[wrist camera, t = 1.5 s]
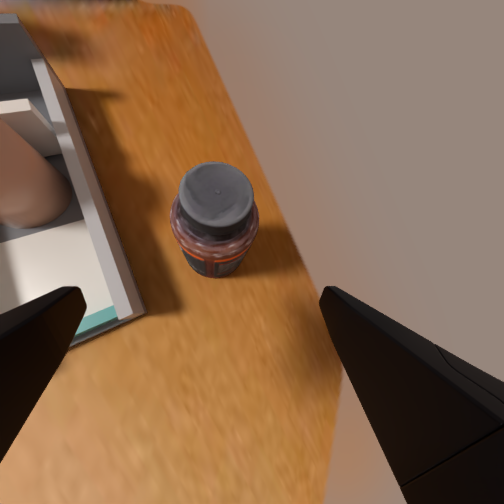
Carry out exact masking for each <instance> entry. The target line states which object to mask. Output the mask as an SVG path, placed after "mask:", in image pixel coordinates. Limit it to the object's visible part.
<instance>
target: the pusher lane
mask: <svg viewBox="0 0 504 504" xmlns="http://www.w3.org/2000/svg"><path fill="white" fill-rule="evenodd" d="M27 98H28V100H29V101H30V102H31V103H32V104H33V105H34V106H35V108H36V109H37V110H38V111H39V112H40V113H41V114H42V116H43V117H44V118H45V119H46V120H47V121H48V122H49V124H50V125H51V126H52V127H53V128H54V130H55V133H56V136H57V139H58V142H59V145H60V148H61V151H62V154H57V155H52V156H47V157H44V158H45V159H46V160H47V161H48V162H50V163H51V164H52V165H53V166H54V167H55V168H56V169H57V170H58V171H60V172H61V173H62V174H63V175H64V176H65V177H66V178H67V179H68V181H69V182H70V185H71V188H72V198H71V202H70V204H69V206H68V207H67V209H66V210H65V211H64V212H63V213H62V214H61V215H60V216H59V217H58V218H56V219H55V220H53V221H51V222H49V223H47V224H45V225H42V226H39V227H35V228H28V229H15V228H9V227H6V226H3V225H0V314H2V313H5V312H7V311H9V310H11V309H13V308H16V307H18V306H20V305H22V304H25V303H27V302H29V301H31V300H33V299H36V298H38V297H40V296H42V295H44V294H47V293H49V292H51V291H53V290H55V289H58V288H60V287H63V286H78V287H79V288H81V291H82V293H83V296H84V298H85V301H86V304H87V309H86V313H85V315H84V317H83V319H82V321H81V323H80V325H79V327H78V329H77V332H76V334H75V336H74V338H73V340H72V342H71V344H70V346H69V348H70V347H72V346H74V345H76V344H79V343H81V342H83V341H85V340H88V339H90V338H92V337H94V336H97V335H99V334H101V333H103V332H105V331H108V330H110V329H112V328H114V327H117V326H119V325H121V324H123V323H125V322H128V321H130V320H132V319H134V318H137V317H139V316H141V315H143V314H145V313H147V310H146V308H145V305H144V302H143V299H142V297H141V294H140V291H139V288H138V286H137V283H136V280H135V278H134V275H133V272H132V269H131V267H130V264H129V261H128V258H127V256H126V253H125V250H124V247H123V245H122V242H121V239H120V237H119V234H118V231H117V228H116V226H115V223H114V220H113V217H112V215H111V212H110V209H109V207H108V204H107V201H106V198H105V196H104V193H103V190H102V187H101V185H100V182H99V179H98V177H97V174H96V171H95V168H94V166H93V163H92V160H91V157H90V155H89V152H88V149H87V146H86V144H85V141H84V138H83V136H82V133H81V130H80V127H79V125H78V122H77V119H76V116H75V114H74V111H73V108H72V106H71V103H70V100H69V97H68V95H67V92H66V89H65V87H64V85H63V84H62V82H61V81H60V79H59V78H58V76H57V75H56V73H55V72H54V70H53V69H52V67H51V66H50V64H49V63H48V61H47V60H46V58H45V57H44V55H43V54H42V52H41V51H40V49H39V48H38V46H37V45H36V43H35V42H34V40H33V39H32V37H31V36H30V34H29V32H28V31H27V29H26V28H25V26H24V25H23V23H22V22H21V20H20V19H19V17H18V16H17V14H0V102H1V101H10V100H18V99H27Z"/></svg>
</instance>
